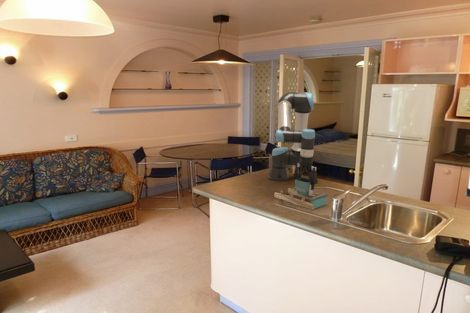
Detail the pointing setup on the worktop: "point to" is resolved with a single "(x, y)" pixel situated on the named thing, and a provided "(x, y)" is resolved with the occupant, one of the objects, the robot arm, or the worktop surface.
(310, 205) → the guide rails
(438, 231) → the worktop surface
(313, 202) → the teal flat block
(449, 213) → the worktop surface
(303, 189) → the flower pot
